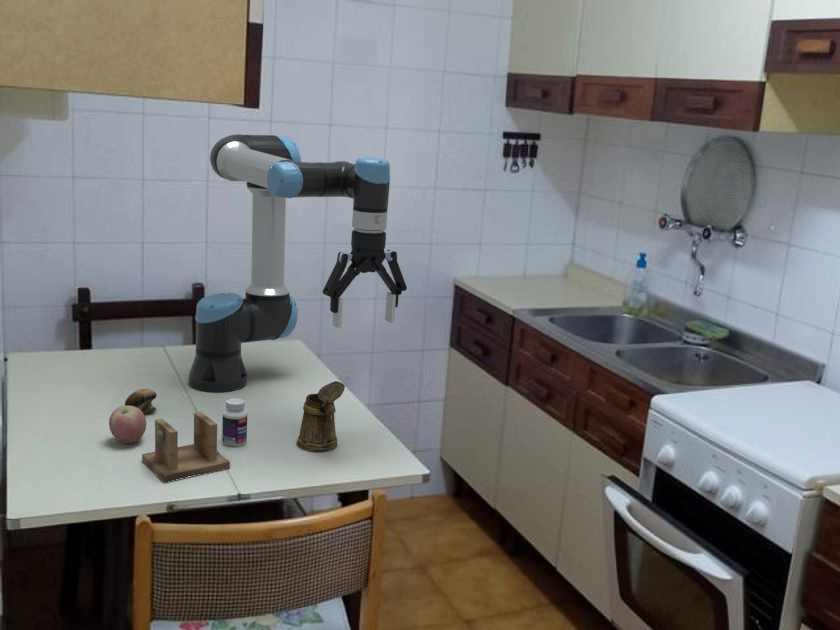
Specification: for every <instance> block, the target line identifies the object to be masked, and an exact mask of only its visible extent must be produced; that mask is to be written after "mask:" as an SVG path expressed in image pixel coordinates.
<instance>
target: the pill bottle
mask: <svg viewBox="0 0 840 630" xmlns="http://www.w3.org/2000/svg"><path fill="white" fill-rule="evenodd" d="M221 430H222V431H221V433H222V434H221V436H222V437H221V440H222V441H221V442H222V444H223V445H225V446H228V447H240V446H244V445H245V444H246V443H247V437H248V411H247V410H246V409H245V400H244V399H242V398H237V397H236V398H235V397H234V398H229V399H227V400H226V401H225V409H224V410H223V411H222V428H221Z"/></svg>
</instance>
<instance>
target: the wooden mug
mask: <svg viewBox="0 0 840 630" xmlns="http://www.w3.org/2000/svg"><path fill="white" fill-rule="evenodd" d="M345 387H346V385H345V384H344V383H343V382H340V381H336V380H335V381H332V382H330V383H328V384H327V383H326V385H324V386H322V387H321V388H320V389H319V391H318V392H317V393H310V394H307V396H306V397H305V401H304V403H303V407H302V409H303V412H302V413H303V414H302V419H301V422H300V423H301V424H300V429H299V435H298V436H297V441H296V446H297V447H298V448H299V449H301V450H303V451H306V452H311V453H324V452H329V451H333V450H335V449H336V448H337V446H338V436H337V433H336V422H335V413H336V412H337V411H336V406H335V401H337V400H339V399H340V397H341V396H342V395H343V393H344V392H345Z"/></svg>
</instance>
